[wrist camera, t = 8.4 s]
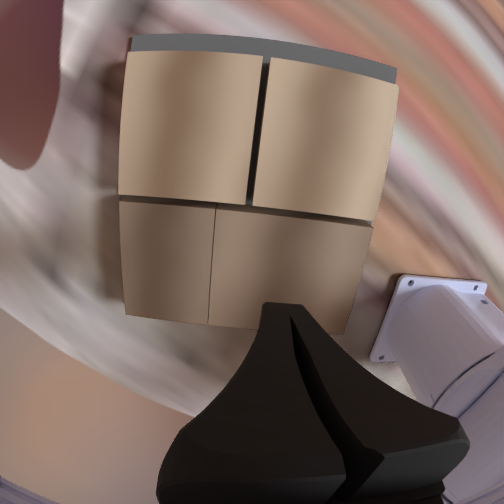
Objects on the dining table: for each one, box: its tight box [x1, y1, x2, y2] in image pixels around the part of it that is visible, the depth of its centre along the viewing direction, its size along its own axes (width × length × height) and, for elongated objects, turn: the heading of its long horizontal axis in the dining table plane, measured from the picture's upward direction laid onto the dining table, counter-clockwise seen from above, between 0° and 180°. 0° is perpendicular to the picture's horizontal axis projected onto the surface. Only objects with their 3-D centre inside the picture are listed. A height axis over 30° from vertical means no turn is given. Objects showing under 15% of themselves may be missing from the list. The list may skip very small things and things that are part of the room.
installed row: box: [119, 195, 374, 334], centre depth 20 cm, size 15×8×2 cm, turn 83°
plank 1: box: [118, 51, 263, 205], centre depth 16 cm, size 7×8×2 cm
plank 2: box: [252, 57, 399, 221], centre depth 17 cm, size 7×8×2 cm
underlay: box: [120, 34, 397, 225], centre depth 19 cm, size 16×18×1 cm
